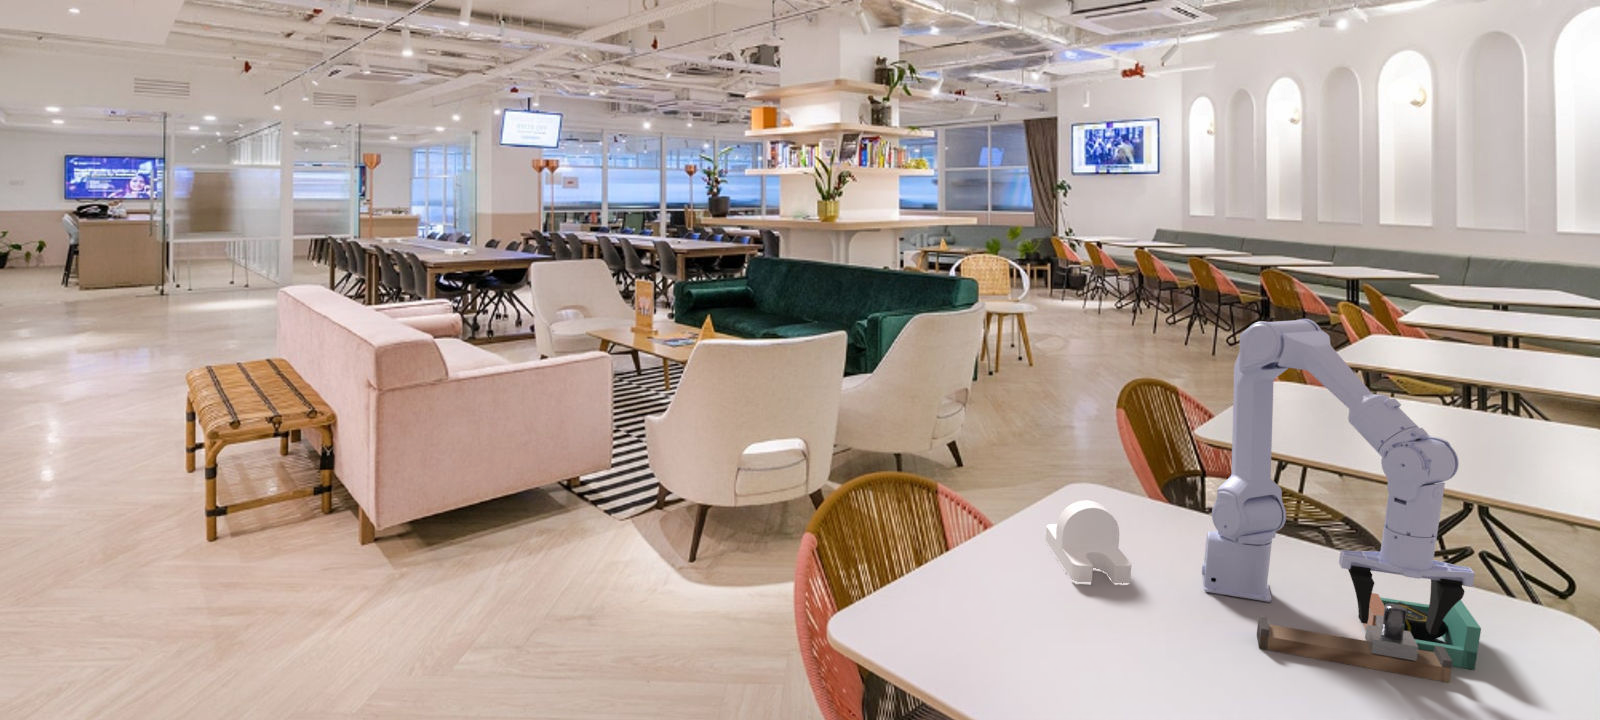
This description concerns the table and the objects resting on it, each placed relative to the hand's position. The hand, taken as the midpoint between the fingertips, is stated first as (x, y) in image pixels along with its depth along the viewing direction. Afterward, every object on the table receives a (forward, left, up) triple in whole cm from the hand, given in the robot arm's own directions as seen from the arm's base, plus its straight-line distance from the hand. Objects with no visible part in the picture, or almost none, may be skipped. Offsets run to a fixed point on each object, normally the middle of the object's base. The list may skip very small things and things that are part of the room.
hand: (1396, 625), depth 116 cm
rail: (-5, 0, -6) cm, 8 cm away
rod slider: (0, +6, -5) cm, 8 cm away
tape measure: (+4, +11, -6) cm, 14 cm away
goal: (+5, +10, -6) cm, 13 cm away
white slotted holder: (-41, +19, -6) cm, 46 cm away
